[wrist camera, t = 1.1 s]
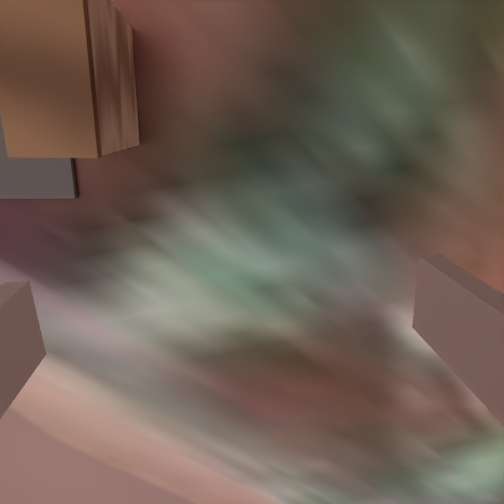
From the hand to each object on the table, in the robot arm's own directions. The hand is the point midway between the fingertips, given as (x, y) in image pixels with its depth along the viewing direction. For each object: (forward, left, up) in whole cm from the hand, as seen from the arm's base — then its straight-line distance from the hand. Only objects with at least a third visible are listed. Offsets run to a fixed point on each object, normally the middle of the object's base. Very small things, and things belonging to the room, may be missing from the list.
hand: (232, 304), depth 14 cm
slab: (-8, -8, -20) cm, 23 cm away
